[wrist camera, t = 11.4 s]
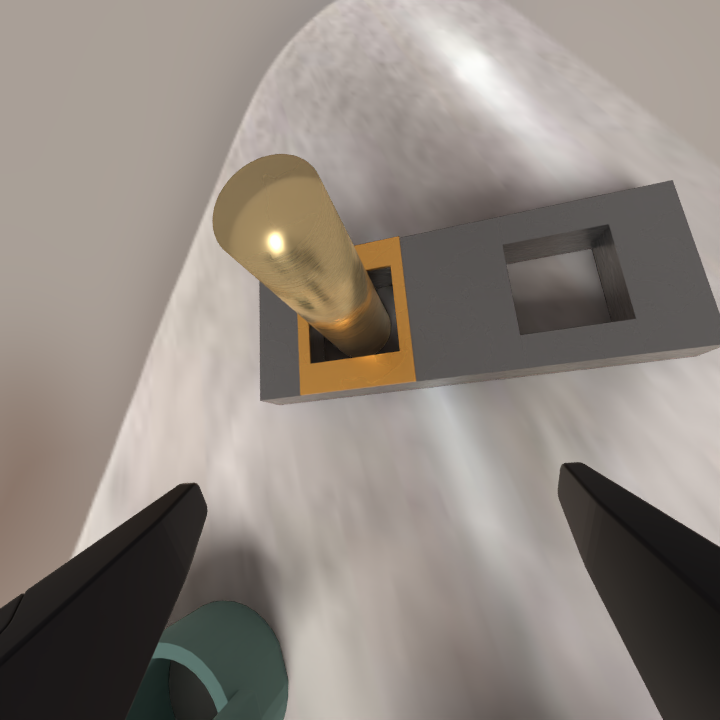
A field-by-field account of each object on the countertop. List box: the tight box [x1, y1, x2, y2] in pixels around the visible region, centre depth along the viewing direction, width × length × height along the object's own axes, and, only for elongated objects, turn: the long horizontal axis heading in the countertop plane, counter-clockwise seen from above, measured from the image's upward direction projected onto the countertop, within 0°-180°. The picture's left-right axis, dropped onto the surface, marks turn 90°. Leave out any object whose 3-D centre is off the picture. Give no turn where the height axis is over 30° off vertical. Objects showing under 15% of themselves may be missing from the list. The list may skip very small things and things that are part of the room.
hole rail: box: [260, 180, 720, 405], centre depth 22 cm, size 24×9×3 cm, turn 95°
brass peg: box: [213, 154, 391, 357], centre depth 18 cm, size 4×4×13 cm
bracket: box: [126, 601, 288, 720], centre depth 17 cm, size 9×9×9 cm
